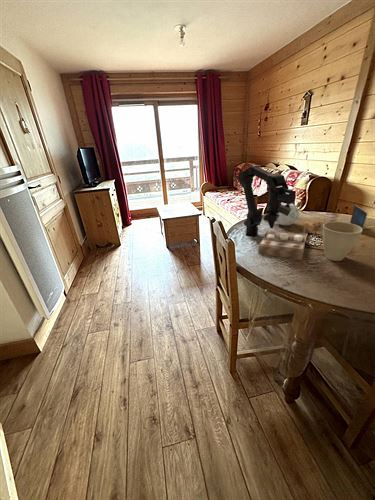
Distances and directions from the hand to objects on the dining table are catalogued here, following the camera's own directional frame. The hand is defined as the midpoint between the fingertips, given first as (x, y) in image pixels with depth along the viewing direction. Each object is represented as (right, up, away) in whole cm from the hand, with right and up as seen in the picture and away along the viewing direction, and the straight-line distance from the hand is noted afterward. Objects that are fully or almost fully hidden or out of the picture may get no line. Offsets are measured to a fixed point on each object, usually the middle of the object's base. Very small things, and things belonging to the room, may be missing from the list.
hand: (271, 228), depth 119 cm
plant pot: (+25, -16, -14) cm, 33 cm away
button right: (+13, -8, -4) cm, 15 cm away
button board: (+5, -11, -1) cm, 12 cm away
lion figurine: (+29, -2, +12) cm, 32 cm away
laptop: (+52, +1, +16) cm, 54 cm away
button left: (+1, -7, +4) cm, 8 cm away
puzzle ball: (+21, +5, +29) cm, 36 cm away
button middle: (+7, -7, 0) cm, 9 cm away
